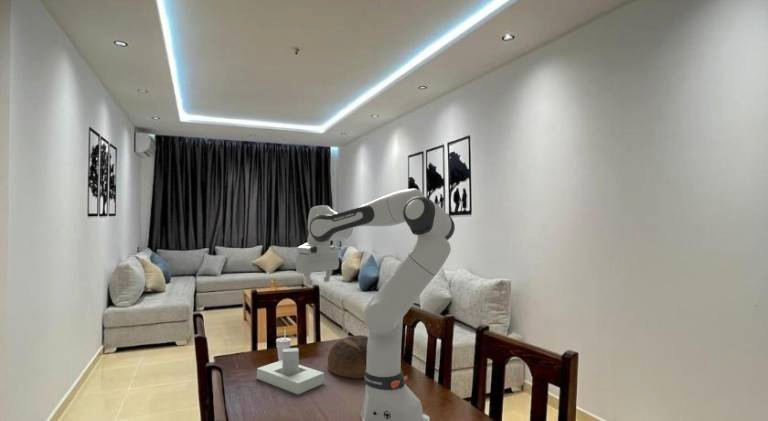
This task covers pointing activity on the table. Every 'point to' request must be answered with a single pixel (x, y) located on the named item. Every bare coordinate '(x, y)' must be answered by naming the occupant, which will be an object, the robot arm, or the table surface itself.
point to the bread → (349, 357)
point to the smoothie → (282, 344)
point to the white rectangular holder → (290, 378)
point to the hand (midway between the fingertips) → (318, 283)
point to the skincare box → (290, 361)
